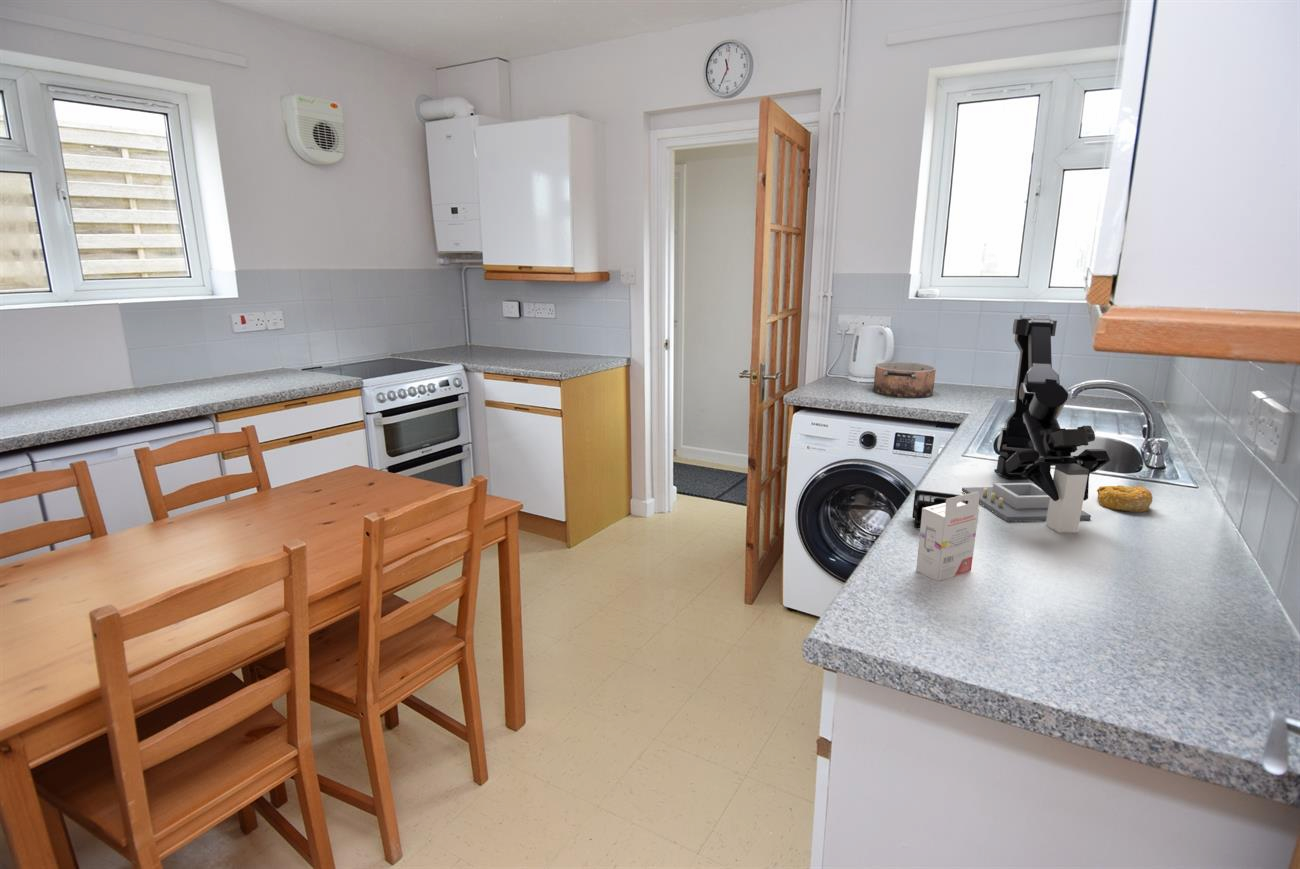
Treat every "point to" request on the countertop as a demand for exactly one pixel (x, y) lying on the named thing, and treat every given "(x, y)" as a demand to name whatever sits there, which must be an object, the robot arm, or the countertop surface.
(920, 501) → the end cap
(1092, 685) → the countertop surface
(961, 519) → the ink cartridge box
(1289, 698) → the countertop surface
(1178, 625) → the countertop surface
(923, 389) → the cooking pot
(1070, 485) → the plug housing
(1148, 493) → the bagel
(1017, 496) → the header dock
